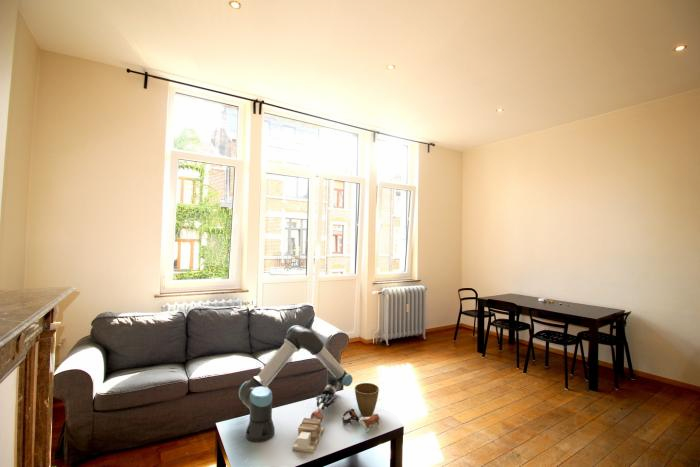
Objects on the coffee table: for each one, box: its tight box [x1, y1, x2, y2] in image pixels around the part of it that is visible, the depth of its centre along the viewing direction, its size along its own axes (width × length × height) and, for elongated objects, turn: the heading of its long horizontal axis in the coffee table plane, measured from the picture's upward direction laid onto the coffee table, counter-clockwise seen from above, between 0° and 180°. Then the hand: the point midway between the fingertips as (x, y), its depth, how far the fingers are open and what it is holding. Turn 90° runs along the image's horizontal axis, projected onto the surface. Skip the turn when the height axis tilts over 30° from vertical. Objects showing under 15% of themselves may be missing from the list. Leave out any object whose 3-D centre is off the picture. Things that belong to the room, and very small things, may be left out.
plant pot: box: [354, 382, 380, 418], centre depth 205 cm, size 15×15×16 cm
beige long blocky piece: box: [291, 417, 325, 454], centre depth 177 cm, size 20×11×8 cm, turn 170°
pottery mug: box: [341, 408, 361, 426], centre depth 195 cm, size 12×10×8 cm
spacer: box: [297, 431, 311, 449], centre depth 169 cm, size 6×5×5 cm
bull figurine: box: [359, 413, 380, 434], centre depth 188 cm, size 4×13×8 cm, turn 122°
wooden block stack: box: [305, 410, 324, 432], centre depth 183 cm, size 20×7×7 cm, turn 170°
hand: (319, 410), depth 195 cm, fingers closed
